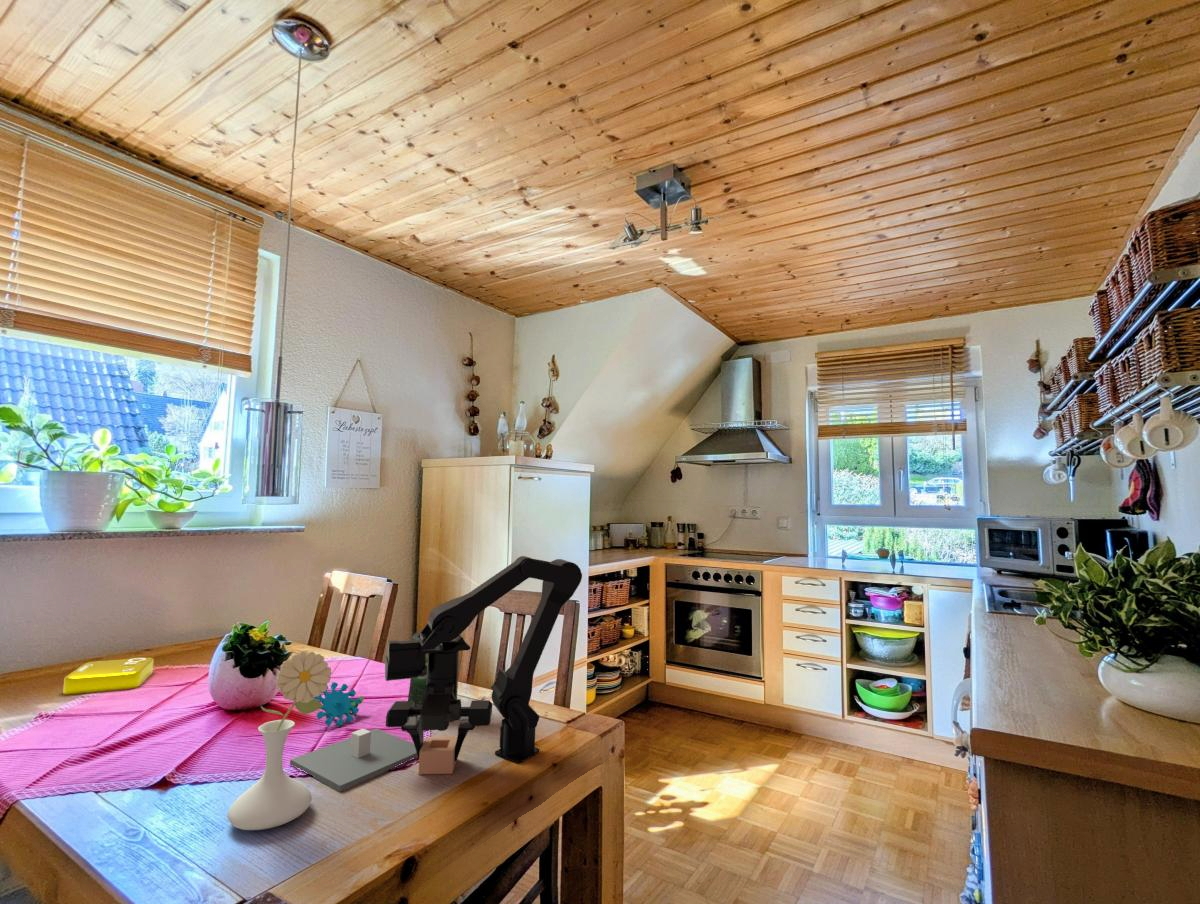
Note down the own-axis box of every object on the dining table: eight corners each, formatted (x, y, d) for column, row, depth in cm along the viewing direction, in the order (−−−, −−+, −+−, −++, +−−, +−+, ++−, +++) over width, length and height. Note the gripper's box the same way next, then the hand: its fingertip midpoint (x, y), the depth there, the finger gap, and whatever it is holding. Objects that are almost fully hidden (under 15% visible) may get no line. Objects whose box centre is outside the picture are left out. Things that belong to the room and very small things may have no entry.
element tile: (84, 678, 150) (86, 659, 151) (154, 672, 157) (155, 654, 157) (59, 697, 137) (61, 676, 137) (137, 690, 143) (138, 670, 143)
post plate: (425, 754, 112) (427, 727, 112) (339, 791, 97) (341, 761, 97) (375, 733, 120) (377, 708, 121) (289, 765, 106) (291, 737, 106)
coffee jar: (456, 711, 134) (460, 630, 135) (435, 723, 127) (439, 637, 128) (423, 704, 137) (427, 626, 139) (400, 716, 130) (404, 632, 132)
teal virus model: (317, 725, 120) (312, 682, 126) (306, 740, 122) (302, 697, 128) (369, 720, 127) (362, 679, 133) (357, 734, 129) (351, 693, 136)
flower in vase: (218, 846, 81) (233, 666, 83) (234, 805, 92) (246, 646, 94) (320, 827, 86) (331, 658, 88) (324, 791, 97) (333, 640, 99)
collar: (456, 758, 110) (457, 737, 110) (452, 773, 104) (453, 750, 104) (424, 759, 109) (426, 737, 109) (418, 774, 103) (419, 751, 104)
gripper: (379, 689, 99) (374, 783, 98) (489, 688, 101) (485, 780, 100) (395, 669, 110) (391, 754, 109) (493, 669, 112) (490, 752, 111)
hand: (438, 760), depth 107 cm, fingers closed on collar, 6 cm apart
